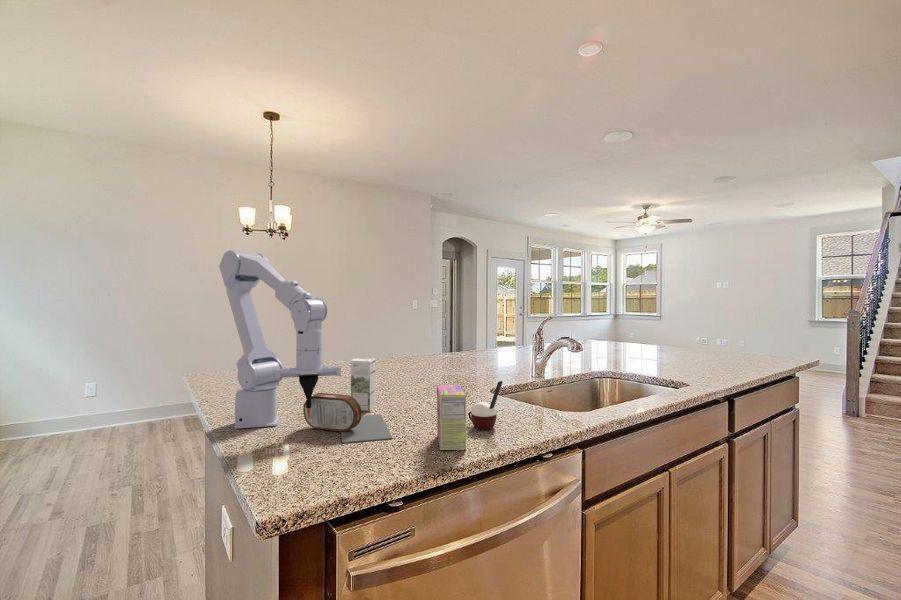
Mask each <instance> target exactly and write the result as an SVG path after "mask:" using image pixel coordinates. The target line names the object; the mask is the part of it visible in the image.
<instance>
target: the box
mask: <svg viewBox="0 0 901 600" xmlns="http://www.w3.org/2000/svg"><path fill="white" fill-rule="evenodd" d="M436 406H437V407H436V408H437V409H436V412H437V414H436V416H437V419H436V421H437V429H436V430H437V440H438V441H437V442H438V445H439V446H438V447H439V451H440V450H457V451H463V450H462V449H466V450H467V394H466V393H465V391H464V389H463V387H462V385H460V384H452V385H451V384H448V385H447V384H446V385H445V384H444V385H443V384H442V385H437V386H436Z"/></svg>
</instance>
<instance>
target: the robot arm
mask: <svg viewBox="0 0 901 600" xmlns="http://www.w3.org/2000/svg"><path fill="white" fill-rule="evenodd" d="M218 267H219V271H220V274H221V277H222V280H223V285H224V287H225V291H226V296H227V298H228V302H229V305H230V309H231V313H232V315H233V318H234V320H233V321H234V323H235V326H236V330H237V334H238V337H239V341H240V344H241V347H242V351H243V354H242V355H241V357H240V358H239V359H238V360H237V362H236V368H237V382H238V383H239V385H240V387H242V388H239V389H237V390H236V392H235V397H234V401H235V402H234V429H235V430H237V429H245V428H246V429H249V428H252V429H253V428H261V427H263V428H264V427H274V426H275V427H276V426H277V425H278V422H279V419H280V415H277V411H278V409H277V408H278V407H277V397H278V396H277V394H278V393H277V389H278V388H277V387H280V383H281V381H282V380H283V379H284V378H298V382H299V385H300V386H301V389H302V391H303V392H304V396H305V402H306V408H311V396H313V392H314V390H315V388H316V386H317V383H318V381H319V377H327V376H331V377H333V376H336V377H339V376H342V367H341V366H323V365H322V364H323V363H322V361H323V359H322V358H323V357H322V356H323V353H322V352H323V351H322V350H323V347H322V346H323V344H322V343H323V321H324V320H325V319H326V318H327V315H328V307H327V304H326V302H325V301H324V300H323V299H322V298H319V297H317V298H316V297H315V298H314V297H312V294H311V293H309V292H307V291H306V290H304V289H303V288H302V287H301V286H300V283H299V282H298V281H297V280H291V279H287V280H286V279H285V278H284V277H283V276H282V275H280V273H279V272H278V271H277V270H276V269H275V268H274V267H273V266H272V265H271V264H270V260H269V258H267V257H266V256H265V255H263V253H253V252H252V253H250V252H242V251H234V250H227V251H226V252H224V254H222V257H221V260H220V263H219V265H218ZM260 281H262V282H263V283H264V284H266V285H267V286H268V287H270V288H271V289H272V290H273V291H274V297H275V298H276V299H277V300H278V301H279V302H280V303H281V304H282V305H283V306H284V307H286V309H288V310H289V311H290V317H291V319H292V321H293V324H294V329H295V331H296V341H295V344H296V347H295V348H296V353H295V354H296V355H295V356H296V360H295V361H296V362H295V363H296V365H295V366H296V367H287V368H285V367H284V366H283V364H282V362H281V361H280V360H279V358H278V355H277V353H276V352H274V351H273V350H271V349H270V348H269V347H267V344H266V341H265V337H264V334H263V332H262V331H263V330H262V327H261V324H260V321H259V317H258V314H257V311H256V310H257V309H256V308H255V304H254V300H253V297H252V294H251V293H252V291H251V290H253V289H254V288H255V287H257V285H258V284H259V283H260Z"/></svg>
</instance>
